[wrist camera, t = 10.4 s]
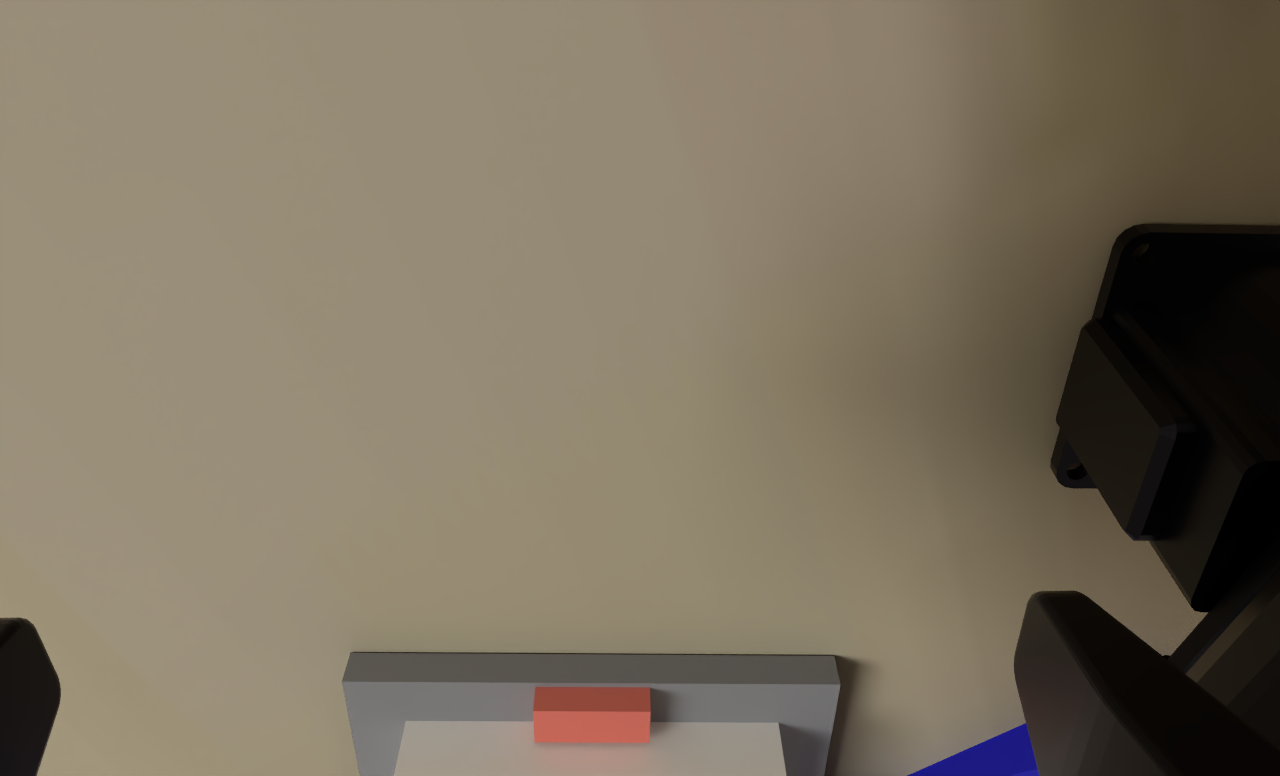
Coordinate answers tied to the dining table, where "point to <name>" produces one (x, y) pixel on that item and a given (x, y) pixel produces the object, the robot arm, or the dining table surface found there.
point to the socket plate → (590, 714)
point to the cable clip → (990, 758)
